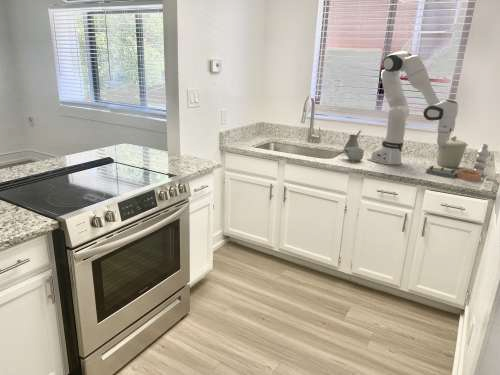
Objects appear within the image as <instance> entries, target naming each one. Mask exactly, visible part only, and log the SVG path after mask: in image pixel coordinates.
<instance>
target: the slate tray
mask: <svg viewBox="0 0 500 375" xmlns="http://www.w3.org/2000/svg"><path fill="white" fill-rule="evenodd" d="M434 166H436V165H430V166H429V167H427V169H426V171H425V173H426V174H430V175H435V176H439V177H444V178H449V179H454V178H455V177H457V174H458V171H459V169H455V168H451V169H452V173H451V174H449V173H444V172H443V169H444V168H445V167H442V166H441V167H442V169H441V172H439V171H433V170H432V169H433V167H434ZM436 167H438V165H437V166H436Z"/></svg>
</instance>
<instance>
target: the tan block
mask: <svg viewBox="0 0 500 375" xmlns="http://www.w3.org/2000/svg"><path fill="white" fill-rule="evenodd" d="M433 166H434V167H433V169H432V170H433V171H439V172H441V169H442V166H437V167H436V165H433Z"/></svg>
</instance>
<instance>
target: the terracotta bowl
mask: <svg viewBox="0 0 500 375" xmlns="http://www.w3.org/2000/svg"><path fill="white" fill-rule="evenodd" d="M481 175H482V174H481V173H479V172H476V171H473V169H472V170H470V169H458V171H457V174H456V178H458V179H460V180H462V181H467V182H480V181H481V178H482V176H481Z"/></svg>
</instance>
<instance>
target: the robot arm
mask: <svg viewBox="0 0 500 375" xmlns="http://www.w3.org/2000/svg"><path fill="white" fill-rule="evenodd" d="M383 58H384V59H383V60H382V68H383V70H382V71H381V73H380V74H381V83H382V88H383V92H384V95H385V99H386V101H387V104H388V107H389V111H388V114H387V115H388V116H387V127H386V128H387V129H386V137H385V139H384V140H383V141H382V142H381V146H379V147H377V148H375V149H374V150H373V151H372V153H371V154H370V156H368V157H367V160H368V161H371V162H375V163H378V164H379V163H380V164H382V165H387V166H388V165H401V164H402V163H403V162H402V151H403V147H404V138H405V133H406V132H405V131H406V130H405V129H406V120H407V118H408V117H409V116H410V108H409V106H408V101H407V99H406V97H405V93H404V89H403V85H402V82H401V78H400V73H401V72H405V75H406V77H407V80H408V82H409V84H410V85H411V87H412V88H414V89H415V90H417V91H419V92H420V93H421V94H422V96H423V98H424V100H425V102H426V103H427V106H426V107H425V108H424V110H423V112H422V113H423V118H425V119H426V120H427V121H431V122H433V121H438V126H437V132H438V133H437V140H436V144H437V146H438V145H439V151H440V152H441V151H442V149H445V146H446V143H447V142H448V141H449V139H451V135H452V132H454V131H455V127H456V126H455V125H456V119H457V117H458V111H459V104H458V102H457V101H455V100H451V99H444V100H442V101H439V99H438V97H437V94H436V93H435V89H434V88H433V86H432V83H431V80H430V77H429V74H428V71H427V69H426V66H425V64H424V62H423V61H422V59H421V57H419V56H418V55H417V54H415V55H413V54H412V53H411V52H410V51H407V50H404V51H397V52H394V53H391V54H388V55H386V56H385V57H383Z"/></svg>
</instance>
